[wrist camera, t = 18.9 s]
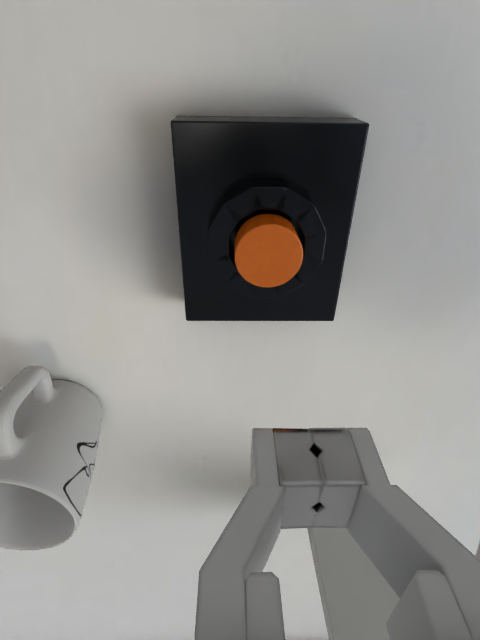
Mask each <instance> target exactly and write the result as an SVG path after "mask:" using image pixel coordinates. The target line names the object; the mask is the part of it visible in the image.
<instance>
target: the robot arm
mask: <svg viewBox="0 0 480 640" xmlns="http://www.w3.org/2000/svg"><path fill="white" fill-rule="evenodd" d="M312 527H317V528H347V530H348V532H349V533H350V534H351V536H352V537H353V538H354V539H355V541H356V542H357V543H358V545H359V546H360V547H361V549H362V550H363V551H364V552H365V554H366V555H367V556H368V558H369V559H370V560H371V562H372V563H373V564H374V565H375V567H376V568H377V569H378V571H379V572H380V573H381V575H382V576H383V577H384V578H385V580H386V581H387V582H388V584H389V585H390V586H391V588H392V589H393V590H394V591H395V593H396V594H397V595H398V597H399V598H400V600H399V601H398V603H397V605H396V607H395V608H394V610H393V612H392V613H391V615H390V617H389V619H388V620H387V622H386V626H387V630H388V633H389V637H390V640H480V560H479V559H478V558H476V557H475V556H474V555H473V554H472V553H471V552H470V551H469V550H468V549H467V548H465V547H464V546H463V545H462V544H461V543H460V542H459V541H458V540H457V539H456V538H454V537H453V536H452V535H451V534H450V533H449V532H448V531H447V530H446V529H444V528H443V527H442V526H441V525H440V524H439V523H438V522H437V521H436V520H435V519H433V518H432V517H431V516H430V515H429V514H428V513H427V512H426V511H425V510H423V509H422V508H421V507H420V506H419V505H418V504H417V503H416V502H415V501H414V500H412V499H411V498H410V497H409V496H408V495H407V494H406V493H405V492H404V491H402V490H401V489H400V488H399V487H398V486H397V485H390V483H389V480H388V477H387V475H386V472H385V470H384V467H383V465H382V462H381V459H380V457H379V454H378V452H377V449H376V446H375V444H374V441H373V439H372V436H371V434H370V431H369V430H368V429H367V428H309V429H280V428H273V429H272V428H253V429H252V444H251V486H250V488H249V489H248V491H247V493H246V494H245V496H244V498H243V499H242V501H241V503H240V504H239V506H238V508H237V509H236V511H235V513H234V514H233V516H232V518H231V519H230V521H229V523H228V524H227V526H226V527H225V529H224V531H223V532H222V534H221V536H220V537H219V539H218V541H217V542H216V544H215V546H214V547H213V549H212V551H211V552H210V554H209V556H208V557H207V559H206V561H205V562H204V564H203V566H202V567H201V569H200V571H199V582H198V597H197V612H196V626H195V640H285V633H284V623H283V613H282V604H281V594H280V584H279V578H277V577H276V576H275V575H274V574H273V573H272V572H262V571H263V569H264V567H265V565H266V562H267V560H268V558H269V556H270V553H271V551H272V549H273V546H274V544H275V542H276V540H277V537H278V535H279V533H280V529H287V528H312Z"/></svg>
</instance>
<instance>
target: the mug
mask: <svg viewBox="0 0 480 640" xmlns="http://www.w3.org/2000/svg"><path fill="white" fill-rule="evenodd" d="M101 419H102V409H101V405H100V402H99V400H98V399H97V397H96V396H95V395H94V394H93V393H92V392H91V391H89V390H88V389H87V388H85V387H83V386H81V385H79V384H77V383H74V382H70V381H65V380H51V376H50V374H49V372H48V370H47V369H46V368H44V367H41V366H30V367H26V368H25V369H23V370H22V371H21V372H20V373H19V374H18V375H17V376H16V377H15V378H14V379H13V380H12V381H11V382H10V383H9V384H8V385H7V386H6V387H5V388H4V389H2V390H1V391H0V547H1V548H7V549H15V550H39V549H46V548H51V547H54V546H57V545H60V544H62V543H64V542H66V541H67V540H69V539H70V538H71V537H72V536H73V534H74V533H75V531H76V530H77V527H78V525H79V522H80V519H81V516H82V512H83V508H84V505H85V501H86V497H87V493H88V489H89V485H90V482H91V478H92V474H93V470H94V465H95V460H96V455H97V448H98V441H99V433H100V426H101Z"/></svg>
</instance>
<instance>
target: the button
mask: <svg viewBox="0 0 480 640" xmlns="http://www.w3.org/2000/svg"><path fill="white" fill-rule="evenodd" d="M234 257H235V265H236V268H237V270H238V272H239V273H240V275H241V276H242V277H243V278H244V279H245V280H246V281H248V282H249V283H251V284H253V285H256V286H259V287H275V286H279V285H282V284H284V283H286V282H287V281H289V280H290V279H291V278H292V277H294V275H295V274H296V273H297V272H298V270H299V268H300V266H301V264H302V260H303V248H302V244H301V242H300V239H299V237H298V234H297V232H296V229H295V228H294V226H293V225H292V224H291V223H290V222H289V221H288V220H287V219H285V218H284V217H282V216H279V215H276V214H269V213H267V214H260V215H256V216H254V217H252V218H250V219H249V220H247V221H246V222H245V223H244V224H243V225H242V226H241V227H240V229H239V230H238V232H237V234H236V237H235V242H234Z"/></svg>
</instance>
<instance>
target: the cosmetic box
mask: <svg viewBox="0 0 480 640" xmlns="http://www.w3.org/2000/svg"><path fill="white" fill-rule="evenodd" d="M308 533H309V539H310V544H311V549H312V555H313V560H314V565H315V570H316V576H317V581H318V586H319V591H320V596H321V601H322V606H323V611H324V616H325V621H326V626H327V632H328V637H329V640H390V637H389V633H388V630H387V626H386V622H387V620H388V619H389V617H390V615H391V613H392V612H393V610H394V608H395V607H396V605H397V603H398V601H399V600H400V598H399V597H398V595H397V594H396V593H395V591H394V590H393V589H392V588H391V586H390V585H389V584H388V582H387V581H386V580H385V578H384V577H383V576H382V575H381V573H380V572H379V571H378V569H377V568H376V567H375V565H374V564H373V563H372V562H371V560H370V559H369V558H368V556H367V555H366V554H365V552H364V551H363V550H362V549H361V547H360V546H359V545H358V543H357V542H356V541H355V539H354V538H353V537H352V536H351V534H350V533H349V532H348V530H347V528H317V527H312V528H308Z"/></svg>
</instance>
